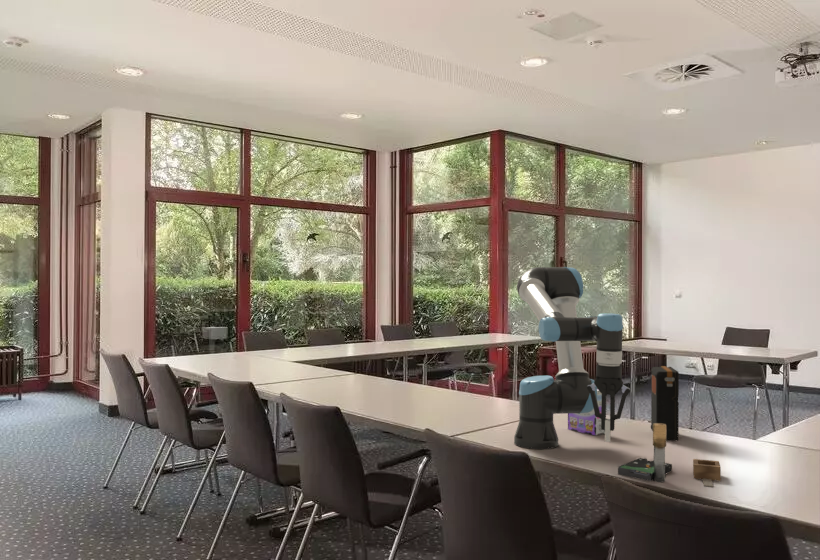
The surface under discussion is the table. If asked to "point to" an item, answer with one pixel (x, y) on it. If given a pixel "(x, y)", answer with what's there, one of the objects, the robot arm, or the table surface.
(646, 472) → the disk drive
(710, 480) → the joist stripe
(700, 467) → the socket
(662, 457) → the tan and gray bar
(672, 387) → the black orange case
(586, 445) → the table surface
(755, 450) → the table surface
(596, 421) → the candy box
